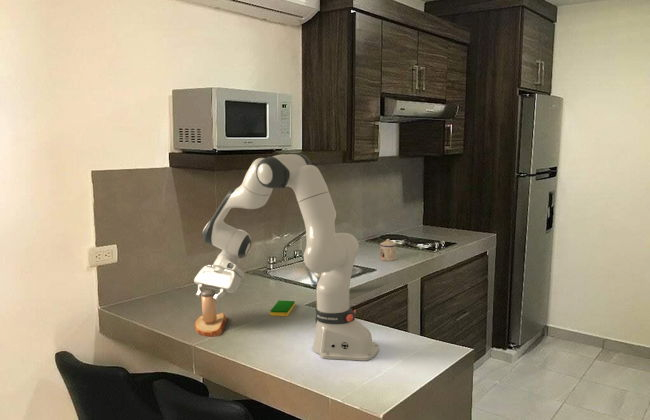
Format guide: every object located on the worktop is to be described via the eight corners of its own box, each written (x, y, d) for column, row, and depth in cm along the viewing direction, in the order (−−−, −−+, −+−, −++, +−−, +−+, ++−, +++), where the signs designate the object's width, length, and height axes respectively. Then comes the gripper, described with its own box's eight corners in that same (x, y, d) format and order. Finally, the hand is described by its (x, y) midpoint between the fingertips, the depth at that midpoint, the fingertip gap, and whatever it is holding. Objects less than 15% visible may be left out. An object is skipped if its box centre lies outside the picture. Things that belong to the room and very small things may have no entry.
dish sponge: (295, 306, 236) (294, 300, 236) (287, 317, 222) (287, 311, 222) (278, 305, 237) (278, 300, 237) (270, 316, 224) (270, 310, 223)
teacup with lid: (378, 257, 319) (378, 237, 317) (394, 257, 320) (394, 237, 318) (382, 262, 307) (382, 242, 305) (398, 262, 308) (399, 241, 306)
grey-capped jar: (219, 317, 213) (218, 290, 212) (212, 322, 208) (210, 294, 207) (207, 316, 215) (205, 289, 213) (199, 321, 210) (198, 293, 208)
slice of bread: (212, 339, 200) (211, 329, 199) (178, 330, 210) (178, 320, 210) (246, 325, 214) (246, 315, 214) (213, 316, 225) (213, 307, 224)
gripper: (201, 259, 220) (183, 289, 214) (239, 266, 208) (221, 298, 202) (210, 268, 224) (192, 297, 218) (247, 275, 213) (230, 306, 206)
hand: (206, 298), depth 210 cm, fingers open, 8 cm apart
